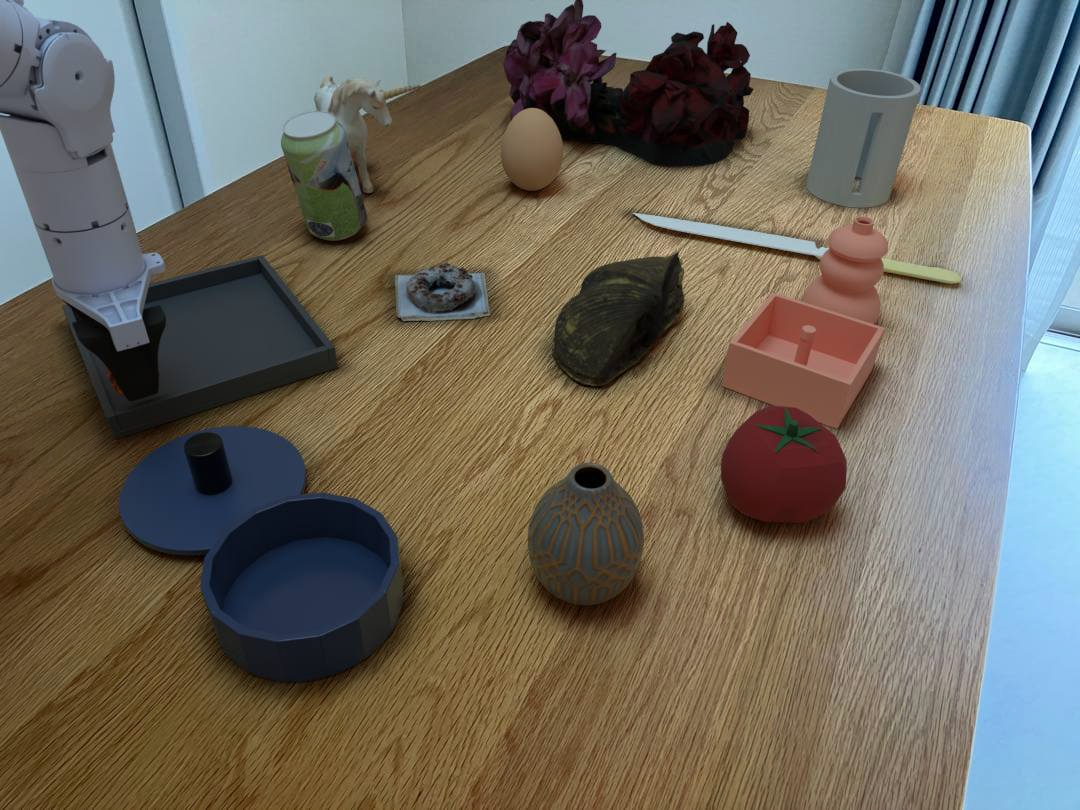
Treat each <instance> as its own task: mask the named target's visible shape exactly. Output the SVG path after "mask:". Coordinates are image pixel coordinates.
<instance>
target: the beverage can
mask: <svg viewBox="0 0 1080 810" xmlns="http://www.w3.org/2000/svg"><path fill="white" fill-rule="evenodd" d="M280 147H281V150H282V153H283V156H284V159H285V162H286V165H287V168H288V172H289V175H290V178H291V181H292V185H293V187H294V190H295V193H296V197H297V199H298V203H299V207H300V209H301V212H302V216H303V218H304V222H305V225H306V228H307V230H308V232H309V234H310V235H312V236H313V237H314V238H317V239H322V240H324V241H328V242H336V241H337V242H338V241H342V240H346V239H348V238H351V237H353V236H354V235H356V234H357V233H358V232H359V231H360V230H361V229H362V228H363V227H364V226H365V225H366V223H367V220H368V214H367V210H366V206H365V201H364V198H363V194H362V191H361V187H360V184H359V179H358V175H357V172H356V167H355V164H354V161H353V156H352V152H351V147H350V148H349V144H348V140H347V136H346V133H345V130H344V128H343V126H342V125H341V124H340V123H338V122H337V121H336V118H335V117H334V115H332V114H331V113H329V112H325V111H317V110H310V111H305V112H301V113H298V114H296V115H294V116H292V117H290V118H289V119H287V120H286V121H285V122H284V123H283V125H282V135H281V138H280Z"/></svg>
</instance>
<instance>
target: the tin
mask: <svg viewBox="0 0 1080 810" xmlns="http://www.w3.org/2000/svg"><path fill="white" fill-rule="evenodd" d="M399 547H400V546H399V538H398V535H397V534H396V532H395V530H394V529H393V528H392V526H391V525H390V523H389V521H388V520H387V519H386V517H385V516H384V515H383V513H382V512H381V511H378V510H377V509H375V508H374V507H372V506H370V505H368V504H367V503H364V502H363V501H361V500H360V499H357V498H355V497H350V496H345V495H339V494H333V493H329V492H313V493H303V495H293V496H287V497H283V498H280V499H278V500H275V501H272V502H270V503H267V504H264V505H262V506H259V507H257V508H254V509H252V510H250V511H249V512H247V513H246V514H245V515H243V516H242V517H241V518H239V519H238V520H237V521H235V522H234V523H232V524H231V525H230V526H228V527H227V528H226V529H224V530H223V531H222V533H221V534H220V536H219V537H218V539H217V540H216V542H215V543H214V545H213V546H212V548H211V549H210V550H209V552H208V553H207V554H205V555H204V559H203V565H202V571H201V577H200V584H199V589H200V592H201V595H202V598H203V602H204V604H205V607H206V610H207V613H208V616H209V620H210V622H211V625H212V628H213V630H214V632H215V635H216V637H217V640H218V642H219V645H220V647H221V649H222V652H223V653H224V654H225V655H226V656H227V658H229V659H230V660H231V661H232V662H233V663H234V664H235V665H236V666H238V667H239V668H240V669H242V670H244V671H246V672H247V673H249V674H251V675H253V676H256V677H259V678H262V679H266V680H269V681H275V682H282V683H301V682H311V681H316V680H321V679H325V678H328V677H332V676H336V675H338V674H340V673H342V672H344V671H347V670H349V669H351V668H353V667H354V666H356V665H358V664H359V663H361V662H363V661H364V660H365V659H367V658H369V657H370V656H371V655H372V654H373V653H374V652H376V651H377V650H378V649H379V648H380V647H381V645H382V644H384V643H385V641H386V640H387V639H388V637H389V636H390V635H391V633H392V631H393V630H394V628H395V627H396V625H397V623H398V621H399V618H400V615H401V612H402V608H403V605H404V601H405V600H404V586H403V585H404V584H403V572H402V564H401V556H400V555H401V554H400V548H399Z"/></svg>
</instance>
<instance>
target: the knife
mask: <svg viewBox="0 0 1080 810" xmlns="http://www.w3.org/2000/svg"><path fill="white" fill-rule="evenodd" d="M632 214H633V215H635V216H636V217H637V218H639V220H641V221H643V222H644V223H647V224H650V225H652V226H655V227H658V228H659V227H660V228H663V229H667V230H672V231H677V232H682V233H687V234H693V235H699V236H704V237H710V238H715V239H720V240H724V241H725V240H726V241H732V242H737V243H743V244H747V245H754V246H759V247H764V248H771V249H776V250H780V251H787V252H792V253H798V254H803V255H809V256H815V258H816V259H817V260H821V258H822V256H823V254H824V253H825V252H826V251H827V250H828V249H829V248H830V247H823V246H821V247H819V248H818V247H817V245H816V242H815V241H812V240H807V239H800V238H795V237H790V236H784V235H778V234H772V233H768V232H767V233H766V232H762V231H761V232H758V231H755V230H749V229H743V228H737V227H736V228H735V227H731V226H724V225H718V224H712V223H705V222H699V221H692V220H685V219H679V218H673V217H666V216H661V215H653V214H646V213H638V212H632ZM881 259H882V262H883V265H884V272H883V273H889V274H893V275H899V276H904V277H910V278H915V279H919V280H920V279H922V280H926V281H931V282H936V283H941V284H942V283H943V284H949V285H953V284H960V283H961V282H962V281H963V278H962V276H961V274H959V273H957V272H956V271H953V270H950V269H946V268H943V267H940V266H932V267H931V266H926V265H921V264H916V263H911V262H905V261H901V260H900V261H899V260H893V259H890V258H889V259H888V258H884V257H882V258H881Z"/></svg>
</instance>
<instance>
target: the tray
mask: <svg viewBox="0 0 1080 810" xmlns="http://www.w3.org/2000/svg"><path fill="white" fill-rule="evenodd" d="M158 305H160V306H161V308H162V309H163V311H164V313H165V316H166V327H165V329H164V331H163V334H162V336H161V340H160V344H159V350H158V369H159V370H158V371H159V372H160V376H159V389H158V393H157V394H154V395H151V396H148V397H144V398H141V399H138V400H135V401H129V400H128V399H127V398H126V397H125V395H121V394H119V393H117V392H115V390H114V388H113V385H112V383H111V381H110V380H109V378H108V376H107V375H108V373H107V371H106V368H107V367H106V366H105V364H104V363H103V362H102V361H101V360H100V359H99V358H98V357H97V356H96V355H95V354H94V353H92V352H91V351H89V350H88V349H87V348H85V347H84V346H83V344H82V343H81V342H80V341H79V340H78V338H77V335H76V333H75V330H74V328H73V325H72V323H73V322H77V321H80V320H82V318H81V317H80V316H79V315H78V314H77V313H76V312H75V311H74V310H73V309H72V308H71V307H69V306H68V305H67V304H63V305H61V308H62V311H63V313H64V316H65V319H66V322H67V325H68V327H69V329H70V332H71V334H72V337H73V340H74V342H75V344H76V347H77V349H78V352H79V355H80V356H81V359H82V362H83V364H84V367H85V369H86V372H87V375H88V376H89V379H90V381H91V384H92V387H93V389H94V392H95V394H96V397H97V398H98V401H99V404H100V406H101V408H102V411H103V413H104V416H105V418H106V421H107V423H108V426H109V428H110V432H111V433H112V436H113V439H115V440H118V439H121V438H124V437H127V436H130V435H133V434H137V433H140V432H143V431H146V430H149V429H151V428H156V427H159V426H161V425H164V424H168V423H170V422H174V421H177V420H180V419H183V418H187V417H189V416H192V415H195V414H198V413H203V412H205V411H208V410H211V409H215V408H218V407H220V406H223V405H227V404H230V403H233V402H237V401H240V400H242V399H245V398H249V397H252V396H255V395H258V394H261V393H264V392H267V391H270V390H273V389H276V388H279V387H283V386H286V385H289V384H292V383H295V382H298V381H302V380H304V379H307V378H310V377H314V376H316V375H320V374H323V373H326V372H329V371H333V370H335V369H338V360H337V359H338V358H337V353H336V347H335V345H334V344H333V343H332V342H331V340H330V339H329V338H328V336H327V334H325V332H324V331H323V330H322V329H321V327H320V326H319V325H318V324H317V322H316V321H315V320H314V318H313V317H312V316H311V314H310V313H309V312H308V311H307V310H306V308H305V307H304V306H303V305H302V303H301V302H300V301H299V299H298V298H297V297H296V296H295V294H294V293H293V291H291V289H290V288H289V287H288V286H287V284H286V282H285V281H284V280H283V279H282V278H281V276H279V274H278V273H277V271H276V270H275V269H274V267H273V266H272V265H271V264H270V262H269V261H268V260H267V258H266V257H265V256H264V255H263V254H260V255H257V256H253V257H248V258H245V259H241V260H237V261H234V262H233V261H232V262H229V263H226V264H222V265H217V266H213V267H210V268H205V269H202V270H198V271H197V270H196V271H193V272H189V273H186V274H182V275H178V276H177V275H176V276H174V277H170V278H169V277H168V278H166V279H163V280H158V281H154V282H150V283H149V287H148V291H147V296H146V300H145V304H144V309H147V308H150V307H154V306H158Z"/></svg>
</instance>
